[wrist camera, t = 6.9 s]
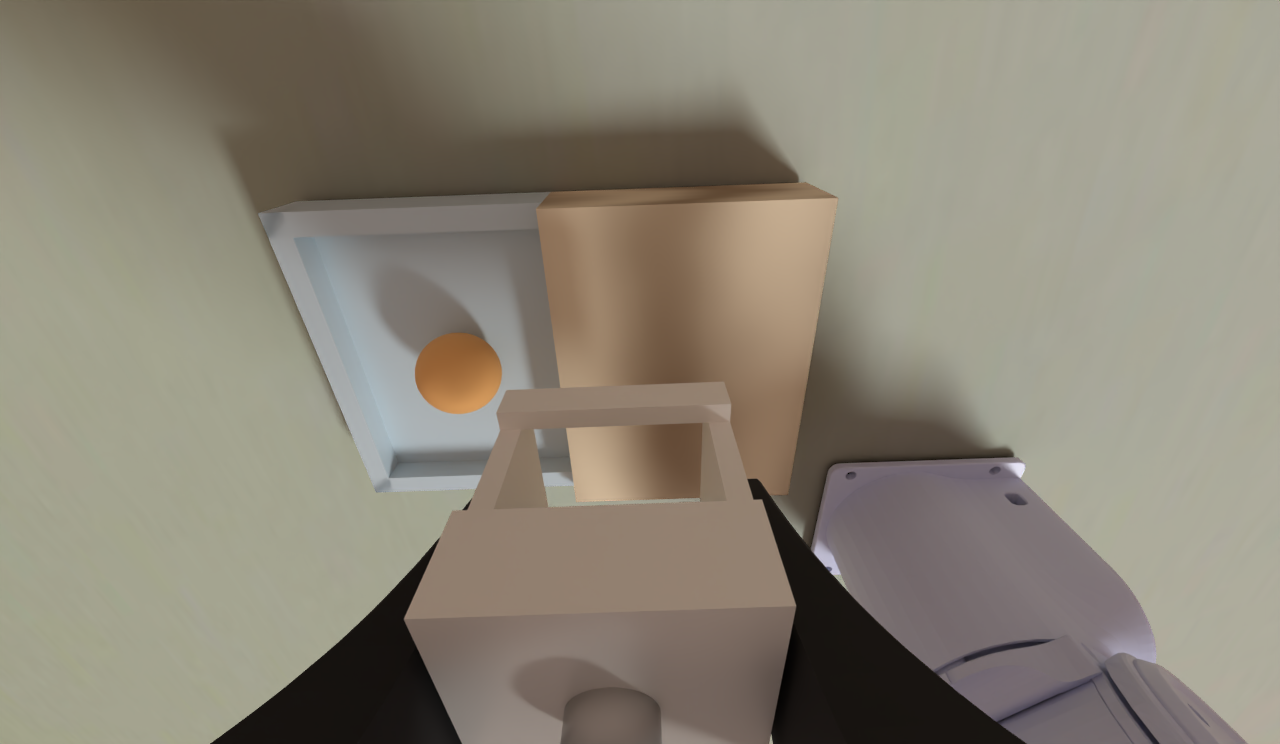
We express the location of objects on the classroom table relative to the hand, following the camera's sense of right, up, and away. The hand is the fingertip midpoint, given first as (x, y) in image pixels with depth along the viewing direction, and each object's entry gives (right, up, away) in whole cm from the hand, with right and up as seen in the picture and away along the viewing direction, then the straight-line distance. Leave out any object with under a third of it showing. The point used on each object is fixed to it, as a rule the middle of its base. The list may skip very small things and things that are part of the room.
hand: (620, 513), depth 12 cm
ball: (-6, +3, +6) cm, 9 cm away
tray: (-7, +5, +8) cm, 12 cm away
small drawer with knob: (0, +1, +1) cm, 2 cm away
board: (+2, +5, +8) cm, 10 cm away
